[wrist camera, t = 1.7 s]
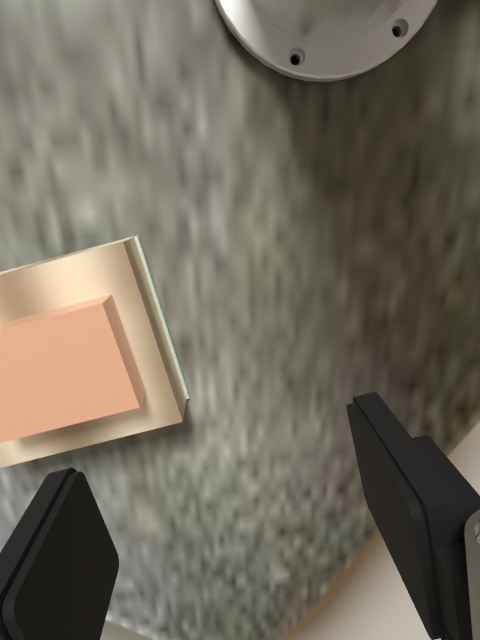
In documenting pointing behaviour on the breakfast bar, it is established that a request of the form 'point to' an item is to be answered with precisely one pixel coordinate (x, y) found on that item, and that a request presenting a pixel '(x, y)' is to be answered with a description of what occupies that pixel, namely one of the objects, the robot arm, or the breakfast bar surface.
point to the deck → (139, 325)
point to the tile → (65, 369)
